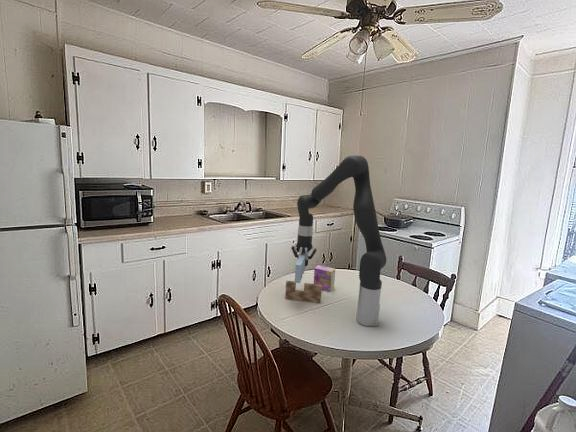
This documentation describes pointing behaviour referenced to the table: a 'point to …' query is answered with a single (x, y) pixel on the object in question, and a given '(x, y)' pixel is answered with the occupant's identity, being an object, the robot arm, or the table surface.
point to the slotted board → (304, 292)
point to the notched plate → (300, 268)
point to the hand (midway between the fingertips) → (302, 265)
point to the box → (324, 277)
